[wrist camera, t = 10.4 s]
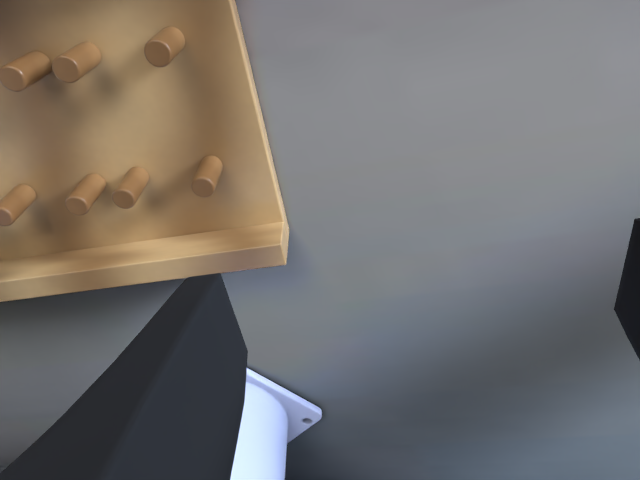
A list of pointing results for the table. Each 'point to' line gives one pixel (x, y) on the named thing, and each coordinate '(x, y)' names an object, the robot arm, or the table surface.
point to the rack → (130, 147)
